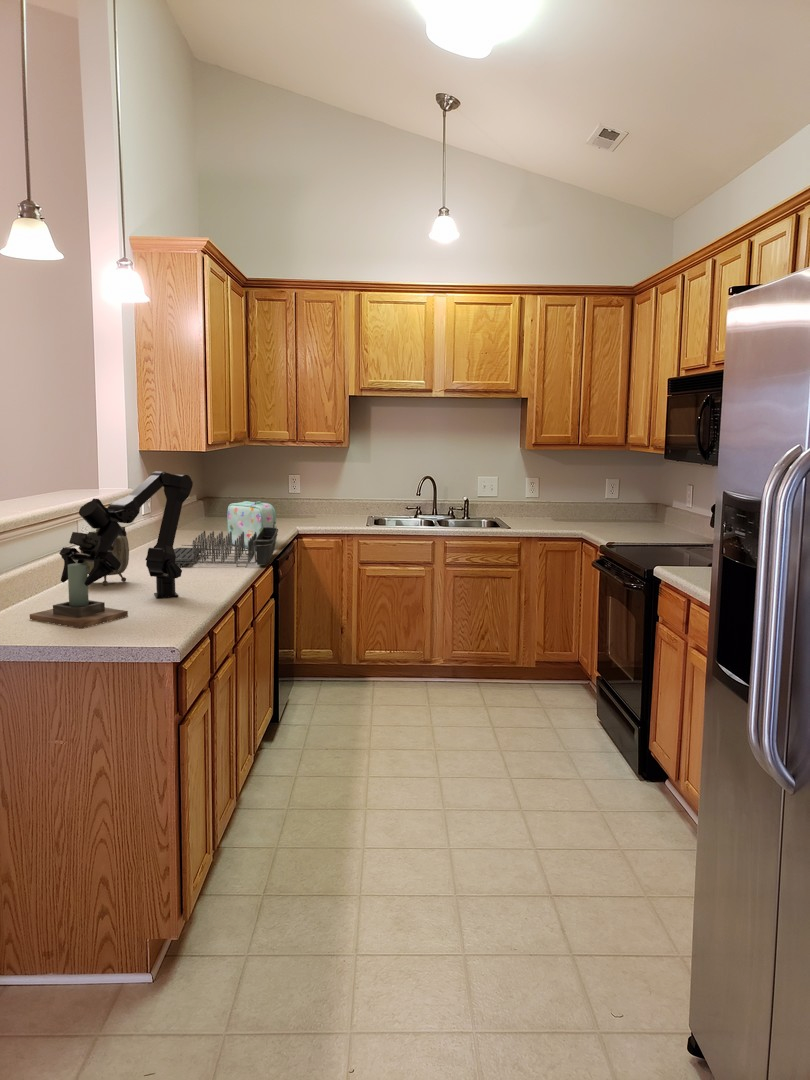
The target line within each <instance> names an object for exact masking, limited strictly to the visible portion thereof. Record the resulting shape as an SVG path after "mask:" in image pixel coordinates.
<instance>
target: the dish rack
mask: <svg viewBox="0 0 810 1080" xmlns="http://www.w3.org/2000/svg"><path fill="white" fill-rule="evenodd" d="M278 533H279V528H278V527H277V528H271V527H263V528H262V530H261V532H260V533H259V535H258V536H257V534H256V532H255V534H254V535H253V536H252V539H251V538H250V540H248V548H247V549H246V548H245V544H244V532H242V533H241V540H240V535H239V543H237V545H236V541H237V542H238V538H237V540H235V545H234V549H233V545H232V532H231V531H230V535H229V533H228V532H227V534H226V535H225V537H224V533H223V530H221V531H220V532H219V533H218V534H217V535H216V537H215V531H214V530H212V532H209V534H207V535H206V531H205V530H203V532H200V534H198V535H197V537H196V536H195V538H194V539H193V540H192V544H181V547H176V548H173V549H174V552H175V555H176V560H175V563H176V564H177V565H178V564H181V566H183V567H184V564H215V565H216V564H217V565H219V564H220V565H222V564H225V565H226V564H233V565H234V564H236V568H237V567H245V568H248V564H249V565H250V564H252V565H253V564H257V566H264V565H268V564H269V563H270V561H271V558H272V556H273V554H274V551H275V548H276V544H275V541H276V542H277V540H276V537H278ZM243 545H244V547H243ZM182 546H183V547H182ZM184 546H185V547H184ZM232 551H234V553H232ZM244 552H245V553H244ZM219 557H220V558H219ZM228 557H229V558H230V557H231V558H232V557H234V560H233V561H230V560H229V561H227V560H228ZM197 559H198V560H197ZM253 559H254V562H253V561H252V562H251V560H253ZM220 560H221V561H220ZM238 560H241V561H238ZM242 560H243V561H242ZM245 560H246V561H245ZM238 564H239V565H240V564H244V565H245V564H246V566H239V565H238Z"/></svg>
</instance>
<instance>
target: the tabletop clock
mask: <svg viewBox="0 0 810 1080" xmlns="http://www.w3.org/2000/svg"><path fill="white" fill-rule="evenodd" d="M97 530H98V528H96V529H95V531H94V530H93V532H95V533H96V531H97ZM112 547H113V548H114V549H113V551H108V552H112V553H113V554H114V555H115V556H116V557H117V558H118V559H119V560H120V561H121V567H120V568H119V570H118V571H114V572H113V573H110V574H108V575H106V576H104V577H103V581H102V585H104V586H107V585H108V584H109V581H107V576H115V575H118V576H119V577H120V579H121V581H120V582H122V583H124V582H126V581H127V578H126V577H125V576H123V575H122V573H124V572H125V571H126V569H128V565H129V561H130V546H129V540H128V536H127V535H126V536H118V537H117V539H116V540H115V542H114V543H113V545H112ZM80 553H82V554H83V551H81V550H80ZM84 563H85V564H87V571H88V575H89V574H90V572H91V570H92V569H93V567H94V562H89V561H85V562H84Z"/></svg>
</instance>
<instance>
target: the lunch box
mask: <svg viewBox="0 0 810 1080" xmlns="http://www.w3.org/2000/svg"><path fill="white" fill-rule="evenodd" d="M226 513H227V515H226V517H227V519H226V521H227V524H226V525H227V527H226V528H227V534H228V533H229V535H230V531H231V532H232V546H235V540H237V538H238V542H237V541H236V546H237V543H239V535H240V540H241V533H242V532H244V544H245V549H248V540H250V538H251V539H252V536H253V535H254V534H255V532H256V534H257V536H258V535H259V533H260V532H261V530H262V528H263V527H271V528H277V529H278V527H277V516H276V515H277V513H276V509H275V507H274V506H273V504H270V503H269V502H261V501H260V500H259V501H248V500H246V501H245V500H244V501H241V502H240V501H239V502H233V503H230V504H229V505H228V507H227V512H226ZM277 537H278V536H277ZM277 537H276V541H275V545H277ZM243 548H244V545H243Z"/></svg>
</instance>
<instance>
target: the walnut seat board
mask: <svg viewBox="0 0 810 1080" xmlns="http://www.w3.org/2000/svg"><path fill="white" fill-rule="evenodd" d="M105 606H106V605H105V601H104V602H103V601H98V600H90V599H89V605H87V606H83V607H78V608H76V607H70V606H69V601H65V602H61V603H56V604H53V605H52V608H51V609H46V610H43V611H39V612H38V611H37V612H33V613H29V620H30V619H32V620H31V621H35V620H38V621H37V622H41V621H42V623H46V622H49V623H48V624H52V623H55V624H54V625H58V624H61V625H60V626H63V625H67V626H66V627H69V626H73V627H72V628H75V627H79V628H78V629H80V628H82V629H85V628H84V627H86V628H89V627H88V626H90V627H93V626H92V625H94V626H96V624H97V625H100V623H101V624H104V623H103V622H105V623H108V622H112V621H115V619H116V620H118V618H119V619H123V618H126V617H125V616H127V617H128V616H129V615H128V614H129V613H128V612H129V611H128V610H123V609H118V608H117V609H116V608H110V607H105ZM122 617H123V618H122ZM111 620H112V621H111ZM107 621H108V622H107Z"/></svg>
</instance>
